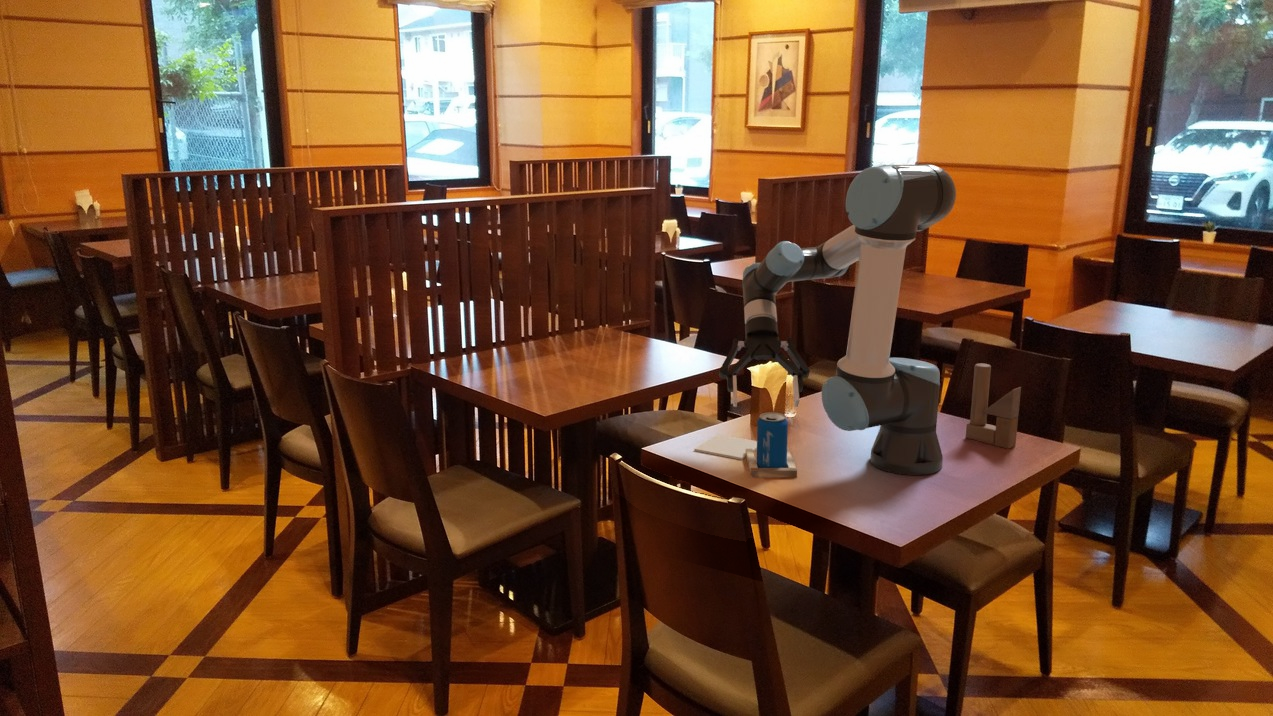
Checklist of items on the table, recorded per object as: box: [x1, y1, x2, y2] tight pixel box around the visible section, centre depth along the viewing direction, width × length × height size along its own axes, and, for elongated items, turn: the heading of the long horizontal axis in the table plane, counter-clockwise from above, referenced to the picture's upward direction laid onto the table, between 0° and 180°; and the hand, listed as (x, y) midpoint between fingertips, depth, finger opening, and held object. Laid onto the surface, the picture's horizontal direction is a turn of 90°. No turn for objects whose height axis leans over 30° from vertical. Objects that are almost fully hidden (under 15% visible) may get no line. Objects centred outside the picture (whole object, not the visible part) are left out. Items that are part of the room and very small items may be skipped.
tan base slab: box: [745, 448, 798, 478], centre depth 196 cm, size 14×10×2 cm
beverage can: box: [756, 412, 789, 468], centre depth 193 cm, size 6×6×12 cm
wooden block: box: [965, 362, 1022, 450], centre depth 207 cm, size 4×11×18 cm, turn 40°
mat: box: [693, 433, 757, 461], centre depth 208 cm, size 12×12×1 cm
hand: (766, 404), depth 198 cm, fingers open, 13 cm apart
